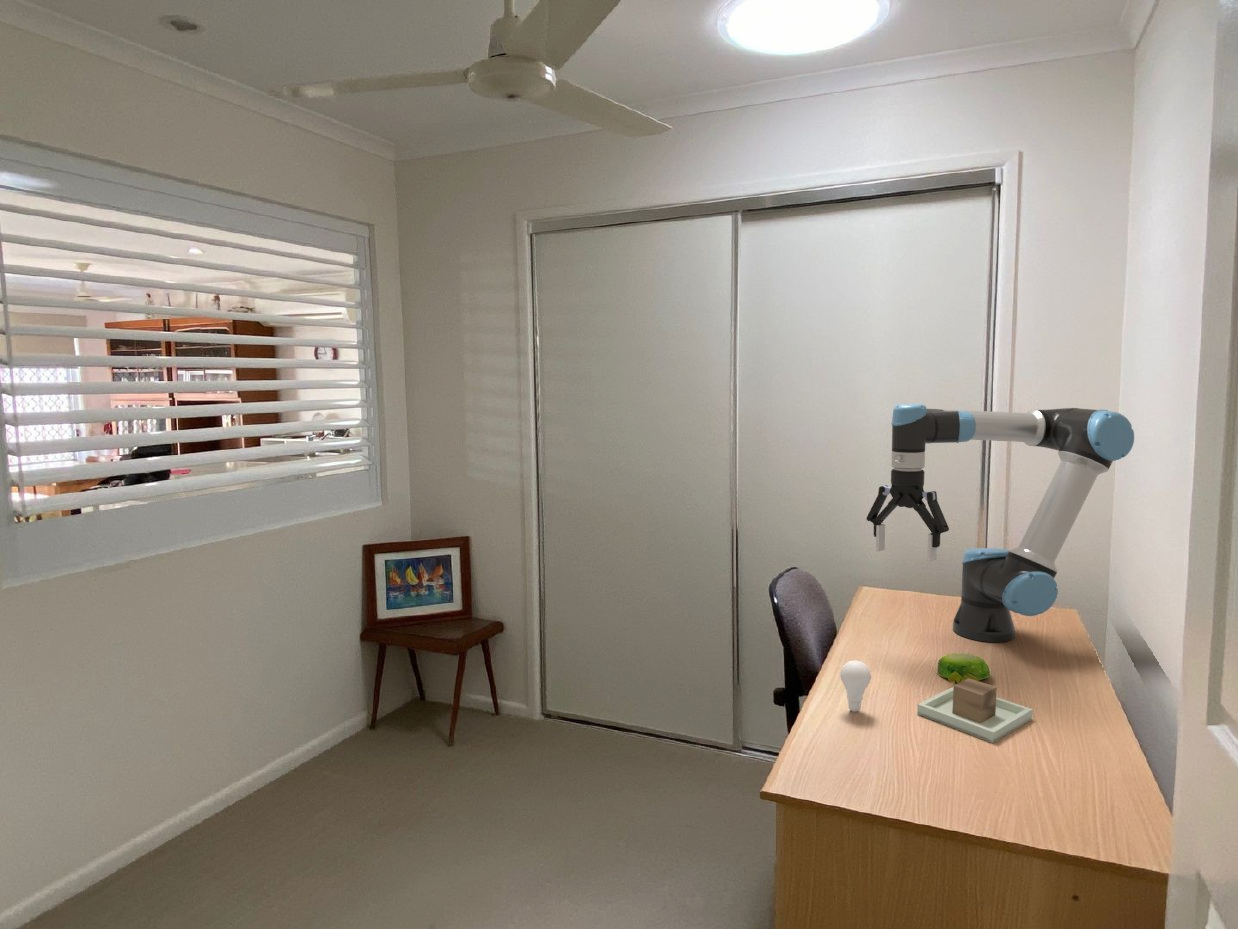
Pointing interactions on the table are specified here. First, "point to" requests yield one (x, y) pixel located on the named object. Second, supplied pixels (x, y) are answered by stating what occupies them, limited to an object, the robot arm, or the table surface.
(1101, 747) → the table surface
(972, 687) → the cube
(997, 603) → the robot arm
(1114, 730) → the table surface
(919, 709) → the tray
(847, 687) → the lightbulb
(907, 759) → the table surface
